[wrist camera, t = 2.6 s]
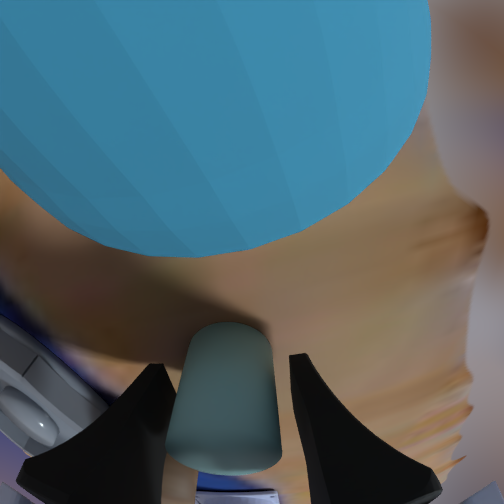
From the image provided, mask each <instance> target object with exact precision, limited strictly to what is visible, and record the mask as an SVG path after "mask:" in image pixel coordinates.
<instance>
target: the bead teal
mask: <svg viewBox="0 0 504 504" xmlns="http://www.w3.org/2000/svg"><path fill="white" fill-rule="evenodd" d="M165 448H166V451H167V452H168V454H169V455H170V456H171V457H172V458H174V459H175V460H176V461H178V462H179V463H181V464H183V465H185V466H187V467H190V468H192V469H195V470H198V471H202V472H206V473H211V474H218V475H245V474H252V473H256V472H260V471H263V470H266V469H268V468H270V467H272V466H273V465H275V464H276V463H277V462H278V461H279V460H280V459H281V457H282V446H281V435H280V425H279V415H278V405H277V395H276V385H275V375H274V366H273V356H272V349H271V346H270V343H269V342H268V340H267V339H266V337H265V336H264V335H263V334H262V333H261V332H259V331H258V330H256V329H254V328H252V327H250V326H248V325H245V324H241V323H236V322H220V323H215V324H211V325H208V326H206V327H204V328H202V329H201V330H199V331H198V332H197V333H196V334H195V335H194V336H193V338H192V340H191V342H190V345H189V348H188V352H187V356H186V360H185V364H184V367H183V371H182V375H181V379H180V383H179V387H178V391H177V395H176V399H175V403H174V407H173V411H172V416H171V420H170V424H169V428H168V433H167V437H166V441H165Z"/></svg>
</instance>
